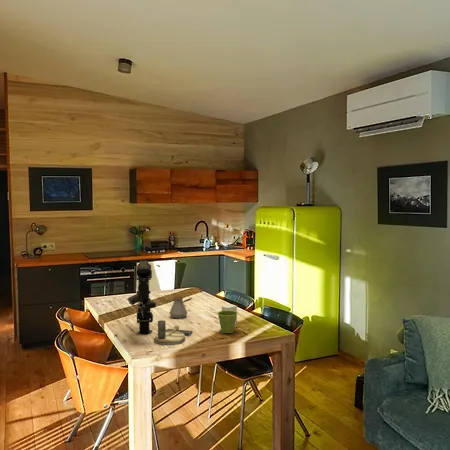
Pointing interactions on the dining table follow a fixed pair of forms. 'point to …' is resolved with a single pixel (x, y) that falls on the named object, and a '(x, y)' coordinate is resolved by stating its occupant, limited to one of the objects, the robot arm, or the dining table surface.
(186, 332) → the base
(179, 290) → the dining table surface
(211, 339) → the dining table surface
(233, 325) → the plant pot
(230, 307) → the small box
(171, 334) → the disc
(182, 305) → the coffee pot
